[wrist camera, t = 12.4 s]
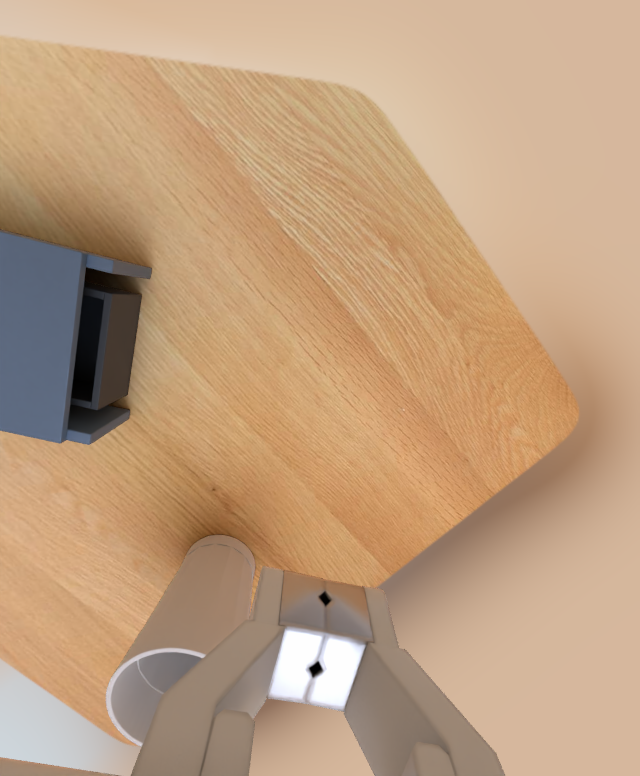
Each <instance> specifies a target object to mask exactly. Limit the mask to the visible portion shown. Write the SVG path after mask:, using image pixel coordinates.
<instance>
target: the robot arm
mask: <svg viewBox="0 0 640 776" xmlns="http://www.w3.org/2000/svg"><path fill="white" fill-rule="evenodd" d="M266 698H270V699H276V700H283V701H291V702H298V703H305V704H310V705H315V706H320V707H324V708H329V709H334V710H338V711H343V712H344V715H345V717H346V719H347V721H348V723H349V725H350V727H351V729H352V731H353V733H354V735H355V737H356V739H357V741H358V743H359V745H360V747H361V749H362V751H363V753H364V755H365V757H366V759H367V761H368V763H369V765H370V767H371V769H372V771H373V773H374V775H375V776H505V774H504V771H503V769H502V766H501V764H500V762H499V759H498V757H497V754H496V753H495V752H494V750H493V749H492V748H491V747H490V746H489V745H488V744H487V742H486V741H485V740H484V739H483V738H482V737H481V735H480V734H479V733H478V732H477V731H476V730H475V729H474V727H473V726H472V725H471V724H470V723H469V722H468V721H467V719H466V718H465V717H464V716H463V715H462V714H461V713H460V711H459V710H458V709H457V708H456V707H455V706H454V705H453V703H452V702H451V701H450V700H449V699H448V698H447V697H446V695H445V694H444V693H443V692H442V691H441V690H440V688H438V686H437V685H436V684H435V683H434V682H433V681H432V679H431V678H430V677H429V676H428V675H427V674H426V673H425V671H424V670H423V669H422V668H421V667H420V666H419V664H418V663H417V662H416V661H415V660H414V659H413V658H412V656H411V655H410V654H409V653H408V652H407V651H406V650H405V649H401V648H399V646H398V642H397V638H396V634H395V630H394V626H393V622H392V618H391V614H390V611H389V607H388V603H387V599H386V595H385V592H384V591H383V590H382V589H378V588H372V587H366V586H357V585H352V584H347V583H342V582H337V581H332V580H327V579H323V578H318V577H314V576H309V575H305V574H301V573H296V572H292V571H287V570H284V571H283V570H282V569H277V568H273V567H268V566H263V567H262V570H261V573H260V577H259V581H258V585H257V589H256V593H255V597H254V601H253V605H252V609H251V613H250V617H249V620H247V619H246V620H245V621H244V622H243V623H241V624H240V625H239V626H238V627H237V628H236V629H235V630H234V631H233V632H231V633H230V634H229V635H228V636H227V637H226V638H225V639H224V640H222V641H221V642H220V643H219V644H218V645H217V646H216V647H215V648H214V649H212V650H211V651H210V652H209V653H208V654H207V655H206V656H205V657H204V658H202V659H201V660H200V661H199V662H198V663H197V664H196V665H195V666H194V667H192V668H191V669H190V670H189V671H188V672H187V673H186V674H185V675H184V676H182V677H181V678H180V679H179V680H178V681H177V682H176V683H175V684H174V685H172V686H171V687H170V688H169V689H168V690H167V691H166V692H165V693H163V694H162V695H161V698H160V701H159V703H158V706H157V708H156V711H155V714H154V716H153V719H152V721H151V724H150V727H149V729H148V732H147V735H146V737H145V740H144V742H143V745H142V748H141V750H140V753H139V755H138V758H137V761H136V763H135V766H134V769H133V771H132V774H131V776H249V768H250V760H251V751H252V743H253V735H254V727H255V721H254V720H253V718H254V717H255V715H256V714H257V712H258V711H259V709H260V708H261V707H262V705H263V704H264V702H265V701H266ZM0 776H119V775H112V774H105V773H99V772H93V771H86V770H79V769H73V768H66V767H59V766H53V765H47V764H40V763H34V762H27V761H21V760H14V759H8V758H1V757H0Z"/></svg>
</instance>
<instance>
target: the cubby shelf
mask: <svg viewBox="0 0 640 776" xmlns="http://www.w3.org/2000/svg"><path fill="white" fill-rule="evenodd" d="M86 267H88V268H92V269H96V270H100V271H103V272H107V273H111V274H119V275H126V276H133V277H140V278H147V279H150V277H151V270H152V268H149V267H145V266H141V265H137V264H133V263H129V262H125V261H122V260H118V259H114V258H110V257H106V256H102V255H98V254H94V253H90V252H87V251H83V250H79V249H75V248H71V247H67V246H63V245H59V244H55V243H52V242H48V241H44V240H40V239H36V238H32V237H28V236H24V235H20V234H17V233H13V232H9V231H5V230H1V229H0V431H5V432H9V433H14V434H19V435H23V436H28V437H33V438H37V439H42V440H47V441H51V442H56V443H62V442H64V441H66V440H69V441H74V442H78V443H83V444H88V445H90V444H91V443H93V442H95V441H96V440H98V439H99V438H101V437H102V436H104V435H105V434H107V433H108V432H110V431H111V430H113V429H114V428H116V427H117V426H119V425H120V424H122V423H123V422H125V421H126V420H128V419H129V415H130V410H127V409H122V408H118V407H114V406H109V405H107V406H105V407H103V408H101V409H99V410H94V409H91V408H85V407H81V406H76V405H72V404H70V401H71V393H72V384H73V375H74V367H75V358H76V349H77V340H78V332H79V323H80V314H81V306H82V297H83V288H84V280H85V271H86Z"/></svg>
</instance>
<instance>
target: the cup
mask: <svg viewBox="0 0 640 776" xmlns="http://www.w3.org/2000/svg"><path fill="white" fill-rule="evenodd" d="M254 573H255V560H254V557H253V554H252V553H251V551H250V550H249V548H248V547H247V546H246V545H245V544H244V543H242V542H241V541H239V540H238V539H236V538H233V537H230V536H226V535H212V536H207V537H204V538H202V539H200V540H198V541H197V542H196V543H194V544H193V545H192V546H191V547H190V549H189V550H188V552H187V554H186V556H185V558H184V560H183V562H182V565H181V566H180V568H179V569H178V571H177V573H176V574H175V576H174V578H173V579H172V581H171V583H170V584H169V586H168V588H167V589H166V591H165V593H164V594H163V596H162V598H161V599H160V601H159V603H158V604H157V606H156V607H155V609H154V611H153V612H152V614H151V616H150V617H149V619H148V621H147V622H146V624H145V626H144V627H143V629H142V630H141V631H140V633H139V634H138V636H137V638H136V639H135V641H134V642H133V644H132V646H131V647H130V649H129V650H128V652H127V654H126V655H125V657H124V658H123V660H122V661H121V663H120V665H119V666H118V668H117V669H116V671H115V673H114V674H113V676H112V678H111V679H110V682H109V684H108V687H107V692H106V706H107V711H108V714H109V716H110V718H111V720H112V722H113V724H114V725H115V727H116V728H117V729H118V730H119V731H120V732H121V733H122V734H123V735H124V736H125V737H126V738H127V739H129V740H130V741H131V742H133V743H135V744H136V745H138V746H140V747H142V745H143V742H144V740H145V737H146V735H147V732H148V729H149V727H150V724H151V721H152V719H153V716H154V714H155V711H156V708H157V706H158V703H159V701H160V698H161V695H162V694H163V693H165V692H166V691H167V690H168V689H169V688H170V687H171V686H172V685H174V684H175V683H176V682H177V681H178V680H179V679H180V678H181V677H182V676H184V675H185V674H186V673H187V672H188V671H189V670H190V669H191V668H192V667H194V666H195V665H196V664H197V663H198V662H199V661H200V660H201V659H202V658H204V657H205V656H206V655H207V654H208V653H209V652H210V651H211V650H212V649H214V648H215V647H216V646H217V645H218V644H219V643H220V642H221V641H222V640H224V639H225V638H226V637H227V636H228V635H229V634H230V633H231V632H233V631H234V630H235V629H236V628H237V627H238V626H239V625H240V624H241V623H243V622H244V621H245V620H246V619H247V620H249V617H250V606H251V595H252V584H253V578H254Z"/></svg>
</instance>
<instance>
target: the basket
mask: <svg viewBox="0 0 640 776" xmlns="http://www.w3.org/2000/svg"><path fill="white" fill-rule="evenodd" d="M141 297H142V295H140V294H136V293H132V292H128V291H124V290H119V289H115V288H111V287H107V286H103V285H99V284H95V283H91V282H87V281H84V288H83V297H82V306H81V314H80V323H79V332H78V340H77V349H76V358H75V367H74V375H73V384H72V393H71V401H70V404H72V405H76V406H81V407H85V408H91V409H94V410H99V409H101V408H103V407H105V406H107V405H108V404H110V403H112V402H114V401H116V400H118V399H120V398H122V397H124V396H126V395H127V394H128V388H129V381H130V374H131V367H132V360H133V353H134V346H135V339H136V332H137V325H138V318H139V311H140V304H141Z"/></svg>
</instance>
